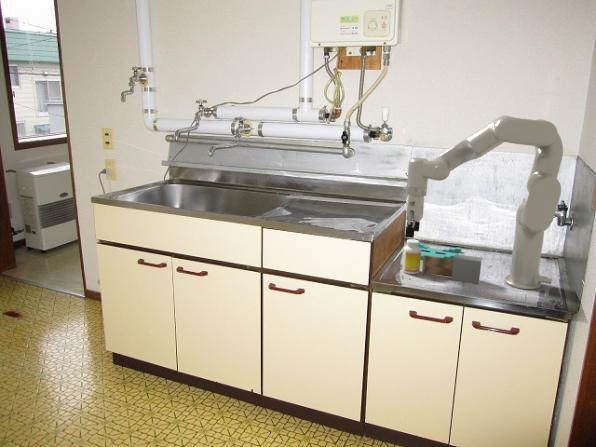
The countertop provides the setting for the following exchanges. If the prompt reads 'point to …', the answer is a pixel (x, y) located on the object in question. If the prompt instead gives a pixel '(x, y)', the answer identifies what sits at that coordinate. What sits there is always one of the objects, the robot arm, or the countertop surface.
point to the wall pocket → (466, 269)
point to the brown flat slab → (437, 266)
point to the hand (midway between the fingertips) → (412, 234)
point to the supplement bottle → (411, 257)
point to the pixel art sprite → (438, 251)
